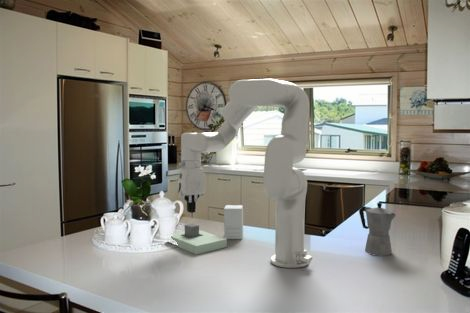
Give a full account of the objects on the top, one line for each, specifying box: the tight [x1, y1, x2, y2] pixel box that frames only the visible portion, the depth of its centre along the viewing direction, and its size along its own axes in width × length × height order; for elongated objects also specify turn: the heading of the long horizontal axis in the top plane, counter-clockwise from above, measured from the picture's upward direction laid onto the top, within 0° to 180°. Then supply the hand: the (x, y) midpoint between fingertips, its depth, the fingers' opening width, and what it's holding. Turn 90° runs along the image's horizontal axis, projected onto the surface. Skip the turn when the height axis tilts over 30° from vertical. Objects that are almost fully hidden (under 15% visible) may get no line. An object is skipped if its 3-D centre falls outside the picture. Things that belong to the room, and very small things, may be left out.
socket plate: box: [171, 229, 228, 255], centre depth 158 cm, size 20×14×3 cm
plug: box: [184, 223, 200, 238], centre depth 160 cm, size 4×4×7 cm
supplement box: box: [223, 204, 244, 240], centre depth 169 cm, size 7×7×13 cm
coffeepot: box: [358, 202, 397, 256], centre depth 149 cm, size 15×9×18 cm, turn 34°
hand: (191, 211), depth 160 cm, fingers closed
